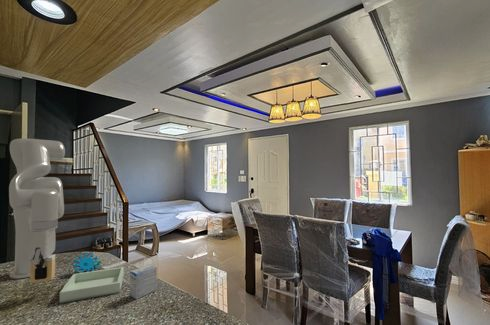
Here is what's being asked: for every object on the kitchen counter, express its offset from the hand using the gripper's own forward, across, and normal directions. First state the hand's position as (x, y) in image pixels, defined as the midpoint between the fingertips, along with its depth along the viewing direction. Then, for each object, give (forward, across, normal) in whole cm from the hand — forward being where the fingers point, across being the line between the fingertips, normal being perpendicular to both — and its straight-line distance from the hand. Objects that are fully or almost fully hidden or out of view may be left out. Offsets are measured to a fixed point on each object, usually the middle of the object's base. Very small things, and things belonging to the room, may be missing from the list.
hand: (43, 275), depth 85 cm
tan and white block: (+1, 0, 0) cm, 1 cm away
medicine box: (+6, +13, +33) cm, 36 cm away
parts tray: (+7, +1, +16) cm, 18 cm away
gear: (+8, -18, +10) cm, 22 cm away
